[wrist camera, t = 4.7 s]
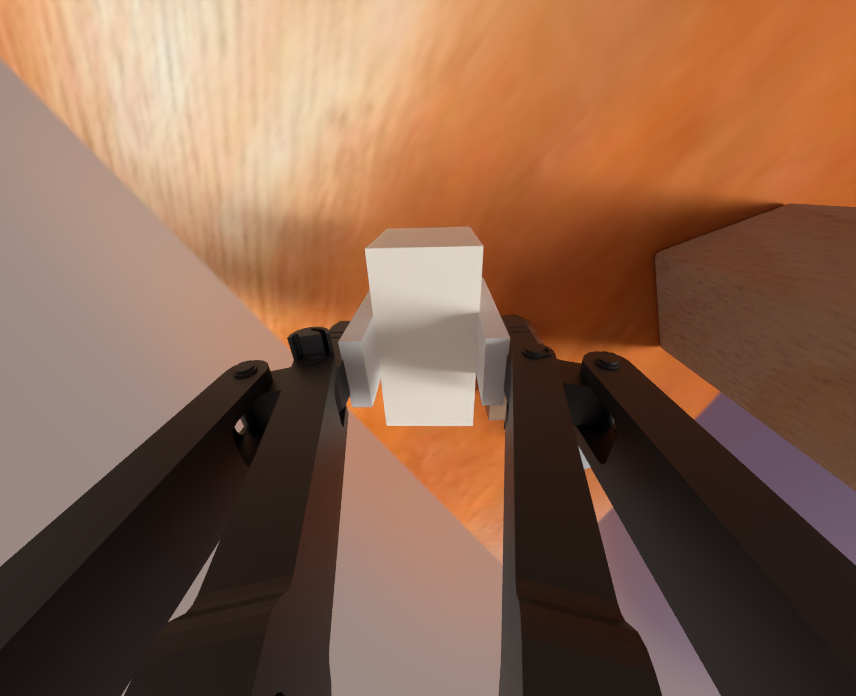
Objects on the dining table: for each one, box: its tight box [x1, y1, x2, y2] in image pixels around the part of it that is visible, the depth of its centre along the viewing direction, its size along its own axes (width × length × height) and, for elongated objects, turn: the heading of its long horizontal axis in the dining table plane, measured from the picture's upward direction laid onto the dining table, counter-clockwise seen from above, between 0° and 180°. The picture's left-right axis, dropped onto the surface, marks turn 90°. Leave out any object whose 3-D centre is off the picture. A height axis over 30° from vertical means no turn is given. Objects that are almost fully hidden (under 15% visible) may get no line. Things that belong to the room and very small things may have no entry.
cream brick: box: [365, 227, 483, 426], centre depth 14 cm, size 8×4×5 cm, turn 2°
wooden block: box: [655, 204, 856, 491], centre depth 18 cm, size 10×10×20 cm
